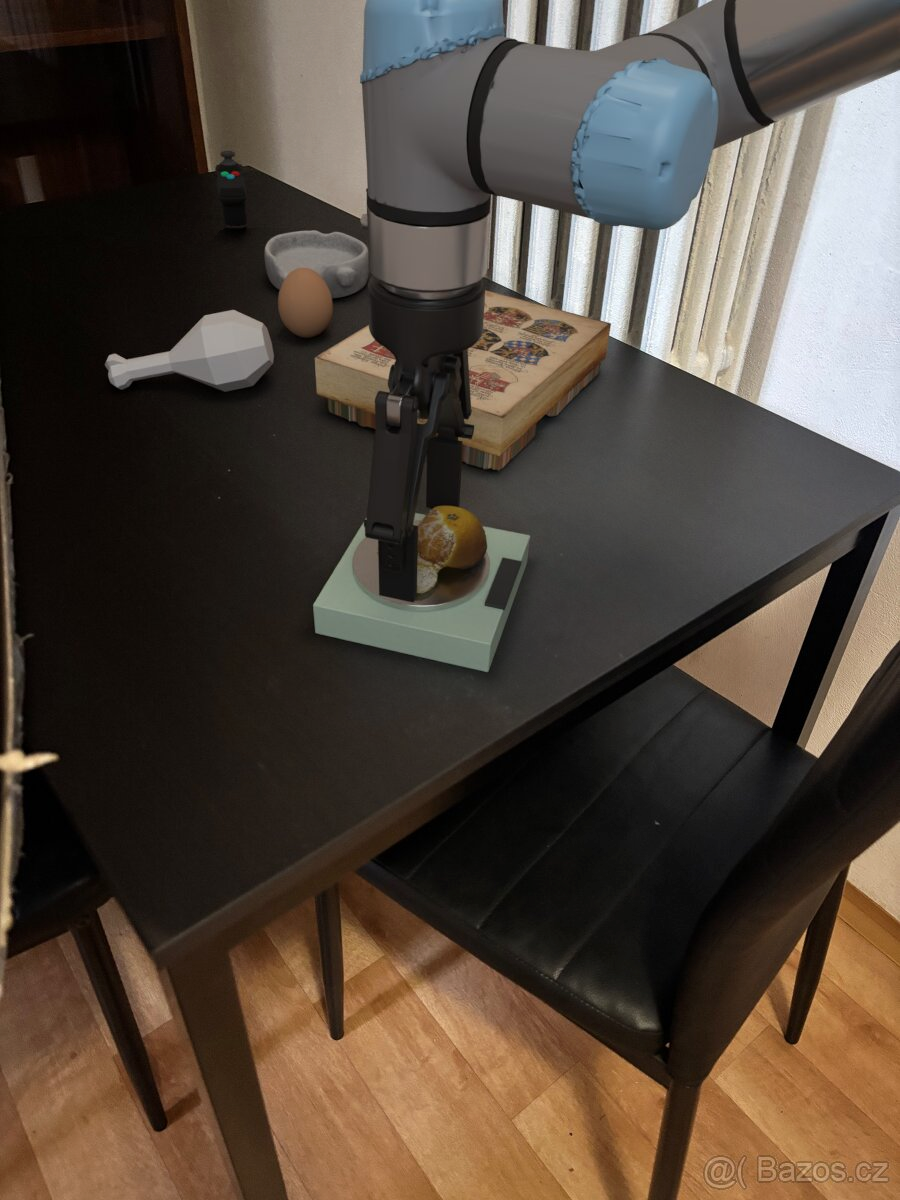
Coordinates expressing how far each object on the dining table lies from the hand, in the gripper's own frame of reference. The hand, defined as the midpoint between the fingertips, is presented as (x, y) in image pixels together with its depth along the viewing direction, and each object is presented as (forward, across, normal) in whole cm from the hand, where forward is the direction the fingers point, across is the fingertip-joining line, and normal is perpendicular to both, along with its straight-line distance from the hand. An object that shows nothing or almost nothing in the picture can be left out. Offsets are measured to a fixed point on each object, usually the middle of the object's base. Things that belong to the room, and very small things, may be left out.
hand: (421, 549), depth 72 cm
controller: (+5, -72, -52) cm, 89 cm away
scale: (+5, 0, 0) cm, 5 cm away
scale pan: (+2, 0, 0) cm, 2 cm away
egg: (+5, -42, -28) cm, 50 cm away
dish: (+5, -58, -32) cm, 67 cm away
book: (+5, -36, -6) cm, 37 cm away
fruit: (+1, -1, 0) cm, 2 cm away
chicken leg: (+5, -26, -34) cm, 43 cm away
